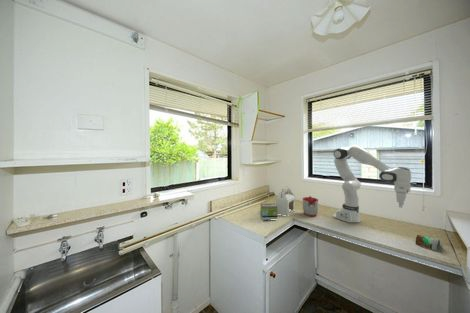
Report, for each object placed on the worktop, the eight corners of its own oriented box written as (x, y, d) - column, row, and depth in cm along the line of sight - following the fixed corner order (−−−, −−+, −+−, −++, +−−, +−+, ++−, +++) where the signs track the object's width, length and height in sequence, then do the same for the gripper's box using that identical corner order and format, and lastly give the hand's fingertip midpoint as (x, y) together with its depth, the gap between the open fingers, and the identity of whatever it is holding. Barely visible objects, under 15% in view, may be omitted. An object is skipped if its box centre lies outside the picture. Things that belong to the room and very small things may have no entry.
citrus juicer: (303, 217, 174) (303, 198, 173) (301, 211, 191) (301, 194, 190) (320, 218, 170) (320, 199, 169) (316, 212, 187) (316, 194, 186)
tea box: (262, 221, 167) (262, 206, 167) (260, 217, 177) (260, 203, 177) (277, 220, 167) (277, 206, 167) (274, 216, 177) (274, 202, 177)
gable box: (287, 217, 176) (287, 190, 175) (275, 214, 184) (275, 188, 183) (294, 210, 194) (294, 186, 193) (283, 208, 202) (283, 185, 201)
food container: (419, 231, 128) (440, 236, 119) (419, 239, 128) (440, 245, 119) (414, 235, 121) (436, 241, 113) (414, 244, 121) (436, 251, 113)
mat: (419, 246, 119) (419, 245, 119) (420, 238, 129) (420, 237, 129) (442, 252, 111) (442, 252, 111) (441, 243, 122) (441, 243, 122)
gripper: (398, 185, 140) (397, 202, 140) (394, 189, 126) (394, 207, 127) (409, 186, 135) (408, 203, 136) (406, 191, 121) (405, 210, 122)
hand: (401, 205), depth 131 cm, fingers open, 8 cm apart
